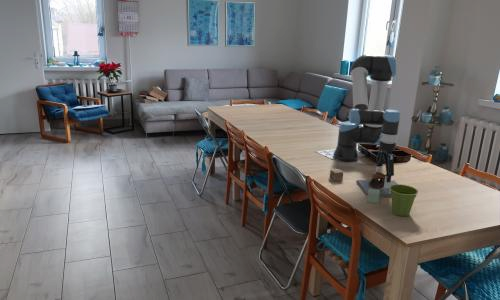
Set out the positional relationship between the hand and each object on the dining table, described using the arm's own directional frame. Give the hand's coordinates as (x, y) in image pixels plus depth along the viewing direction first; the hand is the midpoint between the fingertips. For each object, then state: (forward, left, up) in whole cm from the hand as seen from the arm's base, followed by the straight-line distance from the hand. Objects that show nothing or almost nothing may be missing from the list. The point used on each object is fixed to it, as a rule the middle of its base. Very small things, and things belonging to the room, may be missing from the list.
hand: (382, 183), depth 203 cm
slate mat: (0, 0, -4) cm, 3 cm away
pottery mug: (0, -1, -2) cm, 3 cm away
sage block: (+14, -9, -4) cm, 17 cm away
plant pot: (+27, -1, -4) cm, 27 cm away
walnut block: (-13, -20, -4) cm, 24 cm away
